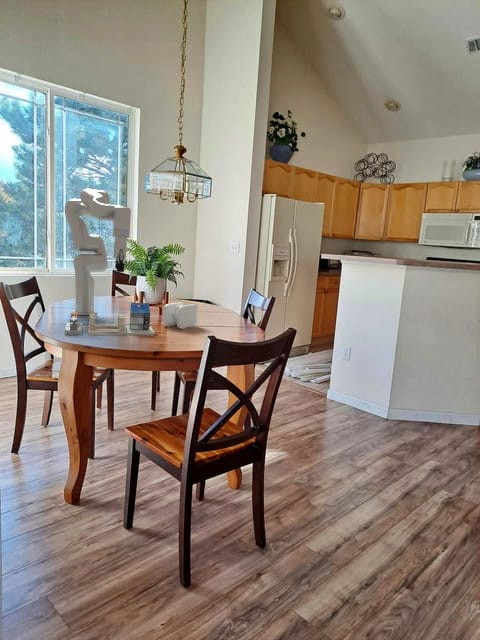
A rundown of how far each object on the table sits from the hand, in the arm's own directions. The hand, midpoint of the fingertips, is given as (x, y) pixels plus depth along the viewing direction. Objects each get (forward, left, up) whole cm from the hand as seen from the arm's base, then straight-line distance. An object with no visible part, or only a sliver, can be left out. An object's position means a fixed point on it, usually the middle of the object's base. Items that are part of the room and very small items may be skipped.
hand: (119, 270), depth 212 cm
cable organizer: (-1, +30, -27) cm, 41 cm away
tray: (+10, +9, -27) cm, 30 cm away
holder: (+10, -6, -27) cm, 29 cm away
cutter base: (+10, -20, -27) cm, 35 cm away
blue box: (+9, +9, -27) cm, 30 cm away
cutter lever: (+8, -20, -24) cm, 32 cm away
